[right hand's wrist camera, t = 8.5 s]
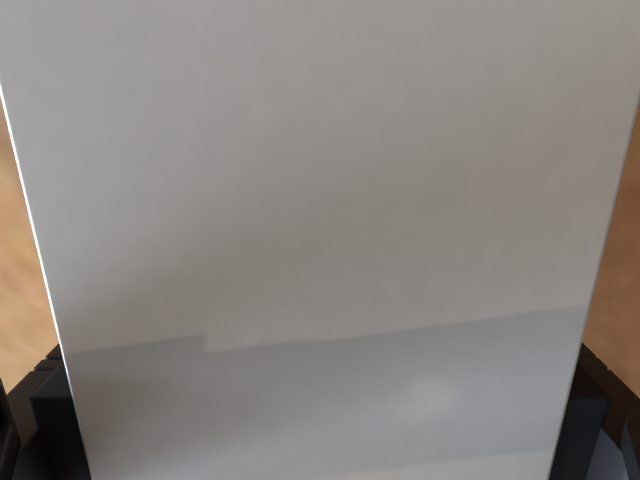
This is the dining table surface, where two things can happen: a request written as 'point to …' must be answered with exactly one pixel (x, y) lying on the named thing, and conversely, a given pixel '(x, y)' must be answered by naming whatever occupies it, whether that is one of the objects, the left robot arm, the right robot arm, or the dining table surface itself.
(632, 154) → the dining table surface
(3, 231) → the dining table surface
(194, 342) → the thick board
